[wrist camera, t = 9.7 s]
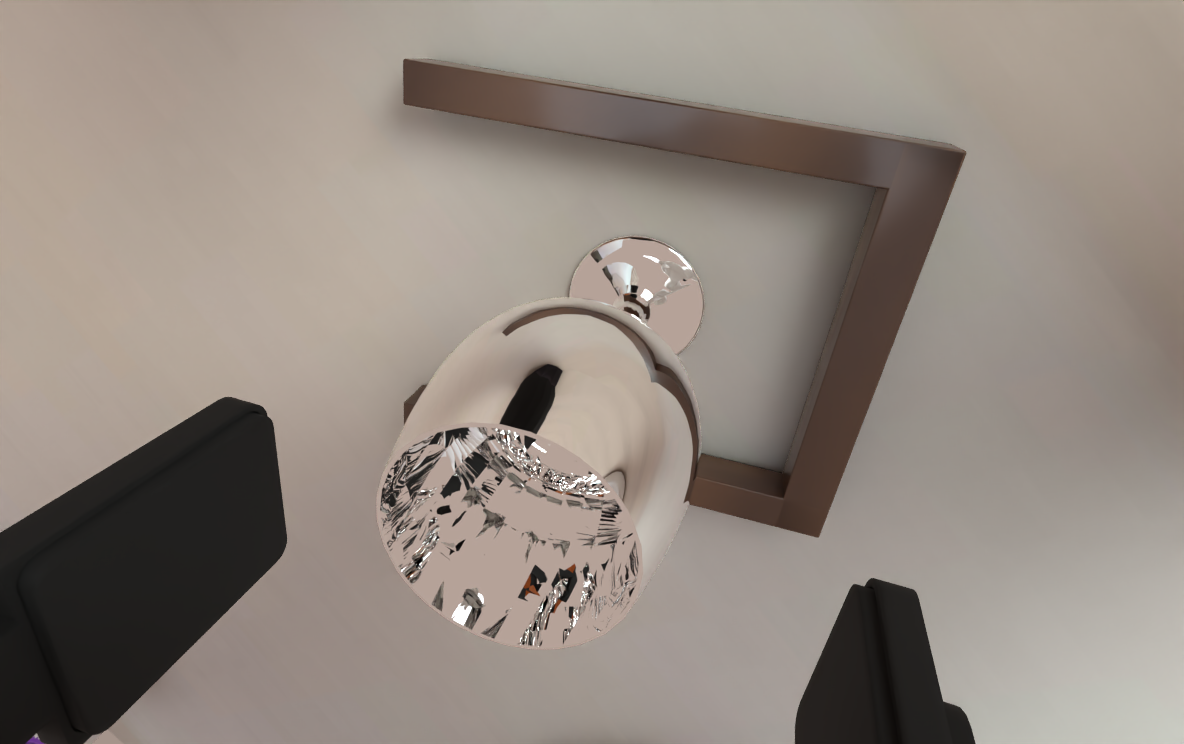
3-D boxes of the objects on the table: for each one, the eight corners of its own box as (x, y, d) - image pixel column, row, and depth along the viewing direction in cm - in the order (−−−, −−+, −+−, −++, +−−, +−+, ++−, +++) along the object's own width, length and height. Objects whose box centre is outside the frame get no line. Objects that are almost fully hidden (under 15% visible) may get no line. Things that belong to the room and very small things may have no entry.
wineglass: (521, 254, 21) (283, 444, 11) (684, 184, 19) (583, 336, 9) (594, 402, 23) (449, 688, 13) (751, 353, 21) (734, 651, 10)
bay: (952, 144, 17) (967, 151, 16) (815, 510, 23) (818, 538, 22) (427, 58, 19) (402, 58, 18) (422, 411, 25) (403, 430, 24)
